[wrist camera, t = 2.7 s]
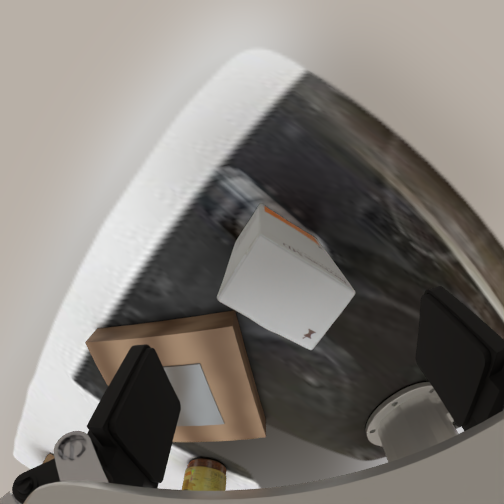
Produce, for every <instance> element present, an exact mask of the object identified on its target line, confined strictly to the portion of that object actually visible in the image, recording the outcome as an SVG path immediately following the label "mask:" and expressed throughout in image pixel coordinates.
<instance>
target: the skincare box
mask: <svg viewBox="0 0 504 504" xmlns="http://www.w3.org/2000/svg"><path fill="white" fill-rule="evenodd" d="M354 295H355V291H354V289H353V288H352V286H351V285H350V284H349V282H348V281H347V279H346V278H345V276H344V275H343V274H342V272H341V271H340V270H339V268H338V267H337V265H336V264H335V263H334V261H333V260H332V259H331V257H330V256H329V254H328V253H327V252H326V251H325V249H324V248H323V247H322V245H321V244H320V242H319V241H318V240H317V238H315V237H314V236H312V235H310V234H309V233H307V232H305V231H304V230H302V229H301V228H299V227H297V226H296V225H294V224H292V223H291V222H289V221H288V220H286V219H284V218H283V217H281V216H280V215H278V214H277V213H275V212H274V211H272V210H271V209H269V208H268V207H266V206H264V205H263V204H259V206H258V207H257V209H256V211H255V212H254V214H253V215H252V217H251V218H250V220H249V221H248V223H247V224H246V226H245V228H244V229H243V231H242V232H241V234H240V235H239V237H238V238H237V240H236V242H235V245H234V248H233V251H232V254H231V257H230V260H229V263H228V266H227V270H226V273H225V276H224V279H223V282H222V285H221V287H220V290H219V293H218V295H217V299H218V300H219V301H220V302H221V303H223V304H225V305H227V306H228V307H230V308H232V309H234V310H235V311H237V312H239V313H241V314H243V315H244V316H246V317H248V318H250V319H252V320H253V321H255V322H256V323H257V324H259V325H260V326H262V327H264V328H266V329H267V330H269V331H272V332H274V333H277V334H279V335H281V336H283V337H285V338H287V339H289V340H291V341H293V342H295V343H297V344H299V345H301V346H303V347H305V348H307V349H309V350H312V349H313V348H314V347H315V346H316V344H317V343H318V342H319V341H320V339H321V338H322V337H323V335H324V334H325V333H326V332H327V330H328V329H329V328H330V326H331V325H332V324H333V323H334V322H335V320H336V319H337V318H338V316H339V315H340V314H341V313H342V311H343V310H344V309H345V307H346V306H347V305H348V303H349V302H350V300H351V299H352V298H353V296H354Z"/></svg>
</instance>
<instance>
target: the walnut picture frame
mask: <svg viewBox="0 0 504 504" xmlns="http://www.w3.org/2000/svg"><path fill="white" fill-rule="evenodd" d="M85 343H86V345H87V347H88V349H89V351H90V353H91V355H92V357H93V359H94V361H95V363H96V365H97V367H98V369H99V370H100V372H101V374H102V376H103V378H104V380H105V381H106V383H107V385H108V386H109V384H110V383H111V381H112V379H113V377H114V376H115V374H116V372H117V370H118V369H119V367H120V365H121V363H122V362H123V360H124V358H125V357H126V355H127V353H128V351H129V350H130V348H131V347H132V346H134V345H144V344H147V345H149V346H150V347H151V348H154V349H155V351H156V353H157V355H158V357H159V359H160V361H161V364H162V366H163V368H164V370H165V372H166V374H167V376H168V378H169V381H170V383H171V385H172V387H173V389H174V391H175V393H176V395H177V397H178V399H179V401H180V404H181V411H180V415H179V419H178V422H177V426H176V430H175V434H174V438H173V442H211V441H229V440H244V439H254V438H263V437H266V419H265V415H264V412H263V409H262V405H261V402H260V398H259V395H258V391H257V388H256V385H255V381H254V377H253V374H252V370H251V367H250V363H249V360H248V356H247V353H246V349H245V345H244V342H243V338H242V334H241V331H240V327H239V323H238V319H237V316H236V312H235V310H233V311H227V312H220V313H214V314H208V315H201V316H195V317H188V318H181V319H174V320H166V321H159V322H151V323H143V324H135V325H126V326H117V327H108V328H98V329H96V331H95V332H94V333H93V334H92V335H91V336H90V337H89V339H88V340H87V341H86V342H85Z"/></svg>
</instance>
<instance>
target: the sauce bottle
mask: <svg viewBox="0 0 504 504" xmlns="http://www.w3.org/2000/svg"><path fill="white" fill-rule="evenodd" d="M225 489H226V468H225V467H224V465H222V464H221V463H219V462H217V461H214V460H211V459H202V458H198V459H194V460H192V461H190V462H189V464H188V467H187V469H186V471H185V476H184V481H183V486H182V490H190V491H225Z"/></svg>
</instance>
